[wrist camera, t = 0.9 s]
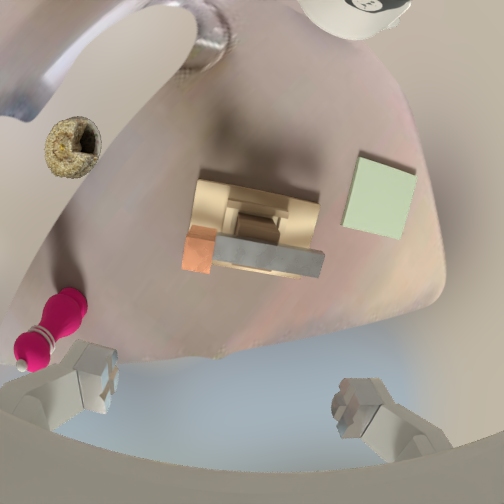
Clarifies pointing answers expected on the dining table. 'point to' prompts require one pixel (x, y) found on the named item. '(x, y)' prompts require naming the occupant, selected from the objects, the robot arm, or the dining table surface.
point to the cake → (73, 147)
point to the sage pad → (378, 199)
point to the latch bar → (247, 253)
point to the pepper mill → (50, 329)
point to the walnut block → (256, 230)
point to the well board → (255, 203)
